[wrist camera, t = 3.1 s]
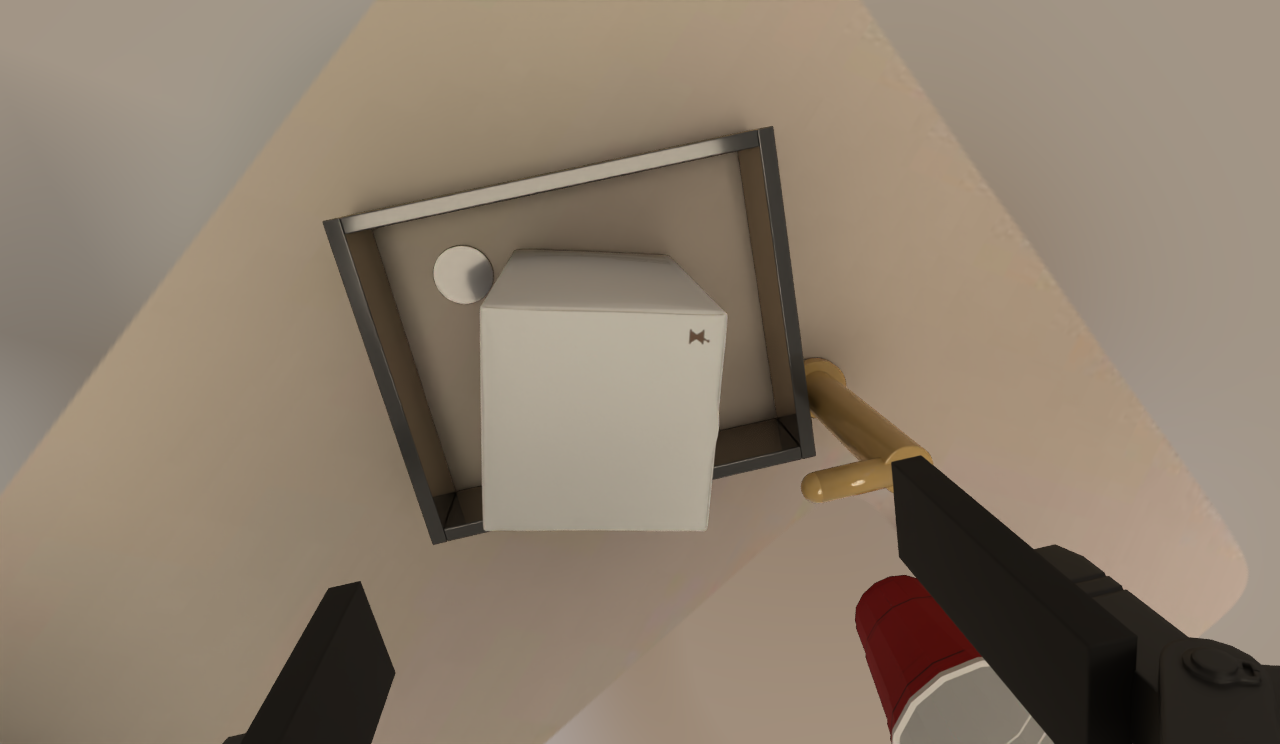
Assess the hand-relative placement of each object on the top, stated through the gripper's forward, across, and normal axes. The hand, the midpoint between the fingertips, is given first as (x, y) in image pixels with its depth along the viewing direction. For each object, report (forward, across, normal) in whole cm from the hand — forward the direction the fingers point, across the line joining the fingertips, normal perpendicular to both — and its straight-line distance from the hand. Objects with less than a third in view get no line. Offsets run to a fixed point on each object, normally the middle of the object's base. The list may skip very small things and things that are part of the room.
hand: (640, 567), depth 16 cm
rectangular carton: (+24, -1, 0) cm, 24 cm away
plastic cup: (+24, +16, -24) cm, 37 cm away
